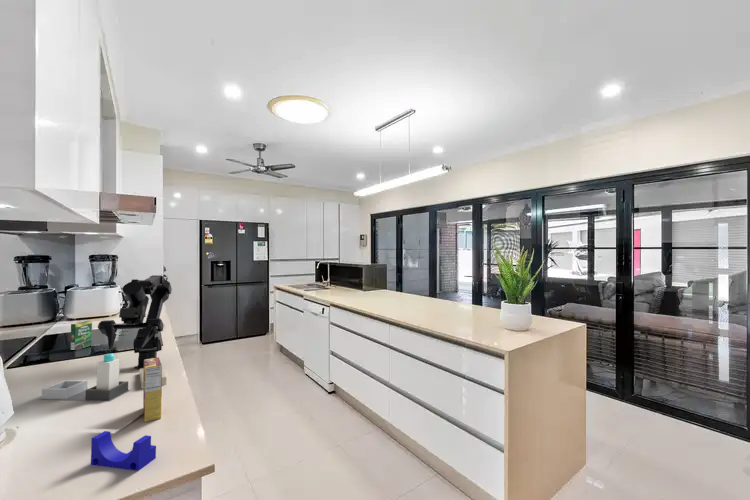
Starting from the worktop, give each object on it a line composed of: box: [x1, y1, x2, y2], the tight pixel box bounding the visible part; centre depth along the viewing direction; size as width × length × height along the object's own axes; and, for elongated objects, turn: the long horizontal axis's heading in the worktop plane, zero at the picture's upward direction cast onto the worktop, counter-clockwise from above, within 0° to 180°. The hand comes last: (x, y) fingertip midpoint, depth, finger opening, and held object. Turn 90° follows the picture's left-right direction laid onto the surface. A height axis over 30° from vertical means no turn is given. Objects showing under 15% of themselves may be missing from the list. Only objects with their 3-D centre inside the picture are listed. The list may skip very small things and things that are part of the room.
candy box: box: [142, 357, 163, 423], centre depth 95 cm, size 9×4×15 cm, turn 37°
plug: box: [95, 353, 121, 390], centre depth 106 cm, size 4×4×13 cm
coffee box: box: [69, 320, 93, 351], centre depth 159 cm, size 8×3×13 cm, turn 169°
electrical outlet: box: [138, 366, 168, 390], centre depth 120 cm, size 7×4×18 cm
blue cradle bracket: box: [90, 430, 157, 472], centre depth 73 cm, size 12×4×6 cm, turn 82°
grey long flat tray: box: [36, 379, 132, 403], centre depth 105 cm, size 9×23×4 cm, turn 89°
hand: (125, 348), depth 113 cm, fingers open, 9 cm apart
